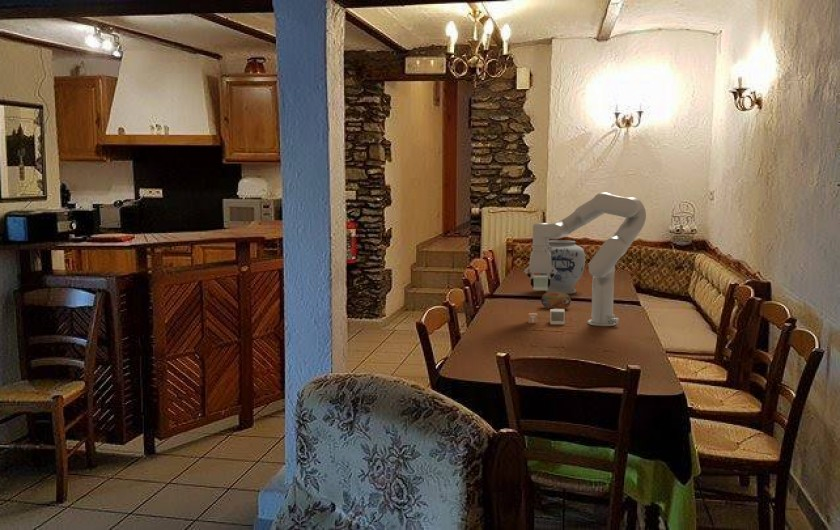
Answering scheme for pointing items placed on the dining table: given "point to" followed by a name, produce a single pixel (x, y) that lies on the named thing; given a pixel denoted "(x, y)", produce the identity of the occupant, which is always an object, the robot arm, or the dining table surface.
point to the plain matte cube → (540, 283)
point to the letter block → (532, 318)
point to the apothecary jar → (565, 266)
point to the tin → (556, 300)
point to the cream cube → (557, 316)
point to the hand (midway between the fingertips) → (540, 286)
